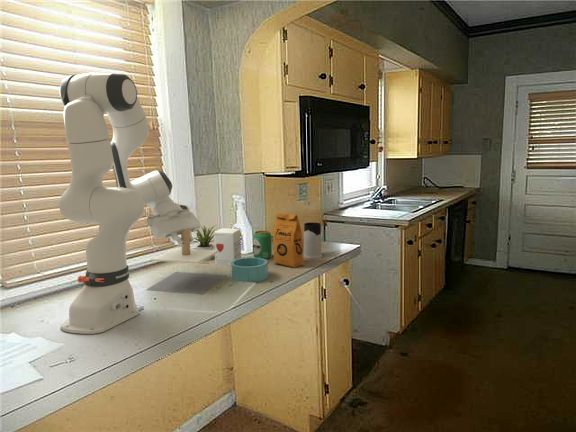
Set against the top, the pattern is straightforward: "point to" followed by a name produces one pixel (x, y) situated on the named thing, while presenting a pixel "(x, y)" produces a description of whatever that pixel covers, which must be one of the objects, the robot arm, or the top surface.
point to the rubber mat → (187, 283)
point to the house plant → (205, 240)
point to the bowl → (249, 269)
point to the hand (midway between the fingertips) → (186, 242)
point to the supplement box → (227, 245)
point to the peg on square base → (185, 252)
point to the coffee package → (287, 241)
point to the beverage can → (262, 245)
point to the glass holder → (312, 240)
